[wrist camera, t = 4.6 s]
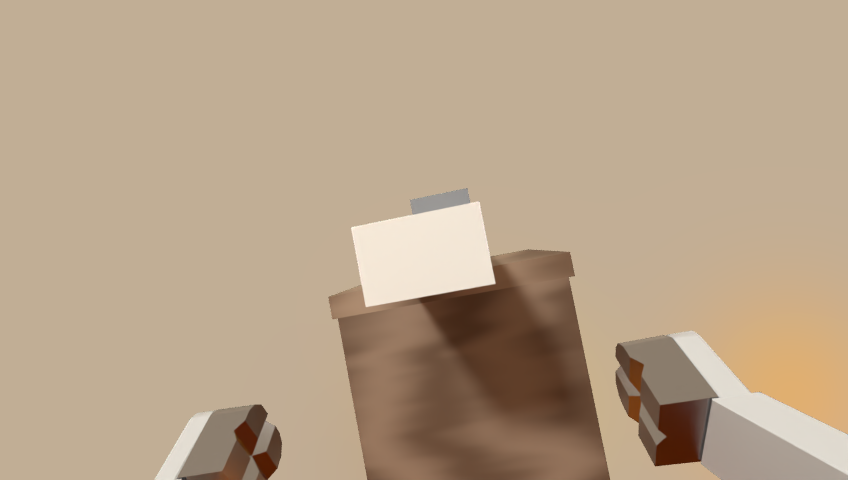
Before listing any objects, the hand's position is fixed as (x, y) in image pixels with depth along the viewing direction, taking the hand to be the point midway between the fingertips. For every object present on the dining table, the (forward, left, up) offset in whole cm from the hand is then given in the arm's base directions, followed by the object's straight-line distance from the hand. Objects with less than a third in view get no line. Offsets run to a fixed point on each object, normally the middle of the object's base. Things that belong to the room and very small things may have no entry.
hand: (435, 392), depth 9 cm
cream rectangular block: (0, -14, +2) cm, 14 cm away
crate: (0, -18, -24) cm, 30 cm away
